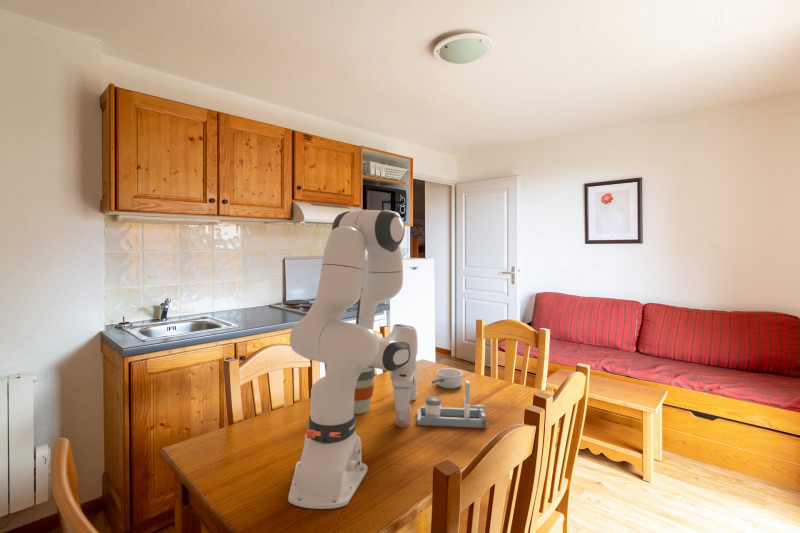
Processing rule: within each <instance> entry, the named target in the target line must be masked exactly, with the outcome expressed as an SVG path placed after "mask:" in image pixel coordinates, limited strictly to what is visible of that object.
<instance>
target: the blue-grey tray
mask: <svg viewBox="0 0 800 533" xmlns="http://www.w3.org/2000/svg"><path fill="white" fill-rule="evenodd" d="M478 405H479V406H483V405H482V404H478ZM486 419H487V418H486V413H485V409H476V408H470V414H469V418H464V407H449V406H448V407H445V406H444V407H443V406H441V415H440V417H435V416H425V405H424V406H420V408H417V418H416V425H417V426H437V427H457V428H481V429H482V428H483V429H486V423H487V422H486Z"/></svg>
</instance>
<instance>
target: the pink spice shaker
mask: <svg viewBox="0 0 800 533" xmlns="http://www.w3.org/2000/svg"><path fill="white" fill-rule="evenodd" d="M411 402H412V400H411V398H410V397H409V405H408V410H407V412H406V413H405V419H404V420H400V419H399V412H396V409H394V410H395V413H394V414H395V415H394V417H395V418H394V422H395V424H394V425H396V426H397V427H400V428H407V427H409V426H410V425H411V410H412V408H411V404H412V403H411Z"/></svg>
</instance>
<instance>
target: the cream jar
mask: <svg viewBox="0 0 800 533" xmlns="http://www.w3.org/2000/svg"><path fill="white" fill-rule="evenodd" d="M424 398H425V399H424V403H425V405H424V406H425V415H424V416H435V417H441V416H440V415H441V407H442V398H440V397H438V396H434V395H433V396H432V395H431V396H426V397H424Z"/></svg>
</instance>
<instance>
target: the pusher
mask: <svg viewBox="0 0 800 533" xmlns="http://www.w3.org/2000/svg"><path fill="white" fill-rule="evenodd" d="M464 384H465V386H464V388H465V390H464V398H463V399H464V400H463V408H464V417H463V418H470V417H469V414H470V409H483V410H487V408H488V407H487V405H482V406H479V405H480V404H470V381H469V380H468V379H466V380H465V382H464Z"/></svg>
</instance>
